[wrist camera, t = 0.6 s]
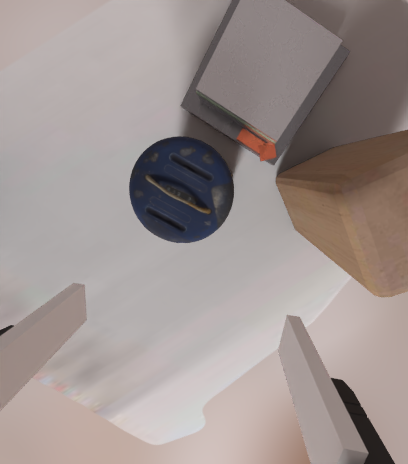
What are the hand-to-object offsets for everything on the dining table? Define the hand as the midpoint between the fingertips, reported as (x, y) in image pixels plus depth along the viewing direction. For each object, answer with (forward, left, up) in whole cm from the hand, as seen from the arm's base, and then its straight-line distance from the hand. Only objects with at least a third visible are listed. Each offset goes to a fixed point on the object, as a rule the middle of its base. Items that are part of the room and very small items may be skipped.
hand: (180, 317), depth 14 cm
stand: (-5, +21, -23) cm, 32 cm away
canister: (-5, +5, -24) cm, 25 cm away
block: (+11, +14, -24) cm, 29 cm away
